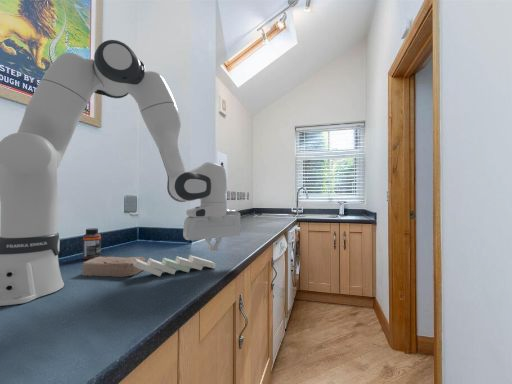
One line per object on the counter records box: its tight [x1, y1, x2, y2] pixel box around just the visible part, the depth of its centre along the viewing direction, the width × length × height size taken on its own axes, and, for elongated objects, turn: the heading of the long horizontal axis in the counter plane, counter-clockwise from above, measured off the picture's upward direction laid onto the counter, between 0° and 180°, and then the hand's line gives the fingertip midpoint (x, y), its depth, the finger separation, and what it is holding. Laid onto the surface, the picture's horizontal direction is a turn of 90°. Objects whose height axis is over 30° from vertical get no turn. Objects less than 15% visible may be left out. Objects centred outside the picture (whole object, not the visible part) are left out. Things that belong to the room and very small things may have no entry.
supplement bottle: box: [82, 227, 102, 260], centre depth 105 cm, size 6×6×11 cm
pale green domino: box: [160, 257, 191, 273], centre depth 86 cm, size 2×5×8 cm
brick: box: [81, 256, 146, 278], centre depth 86 cm, size 16×8×5 cm, turn 84°
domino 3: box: [174, 255, 204, 271], centre depth 88 cm, size 2×5×8 cm
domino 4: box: [188, 254, 217, 269], centre depth 91 cm, size 2×5×8 cm
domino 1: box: [133, 258, 164, 277], centre depth 82 cm, size 2×5×8 cm
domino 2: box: [146, 257, 177, 275], centre depth 84 cm, size 2×5×8 cm
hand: (213, 251), depth 93 cm, fingers closed
